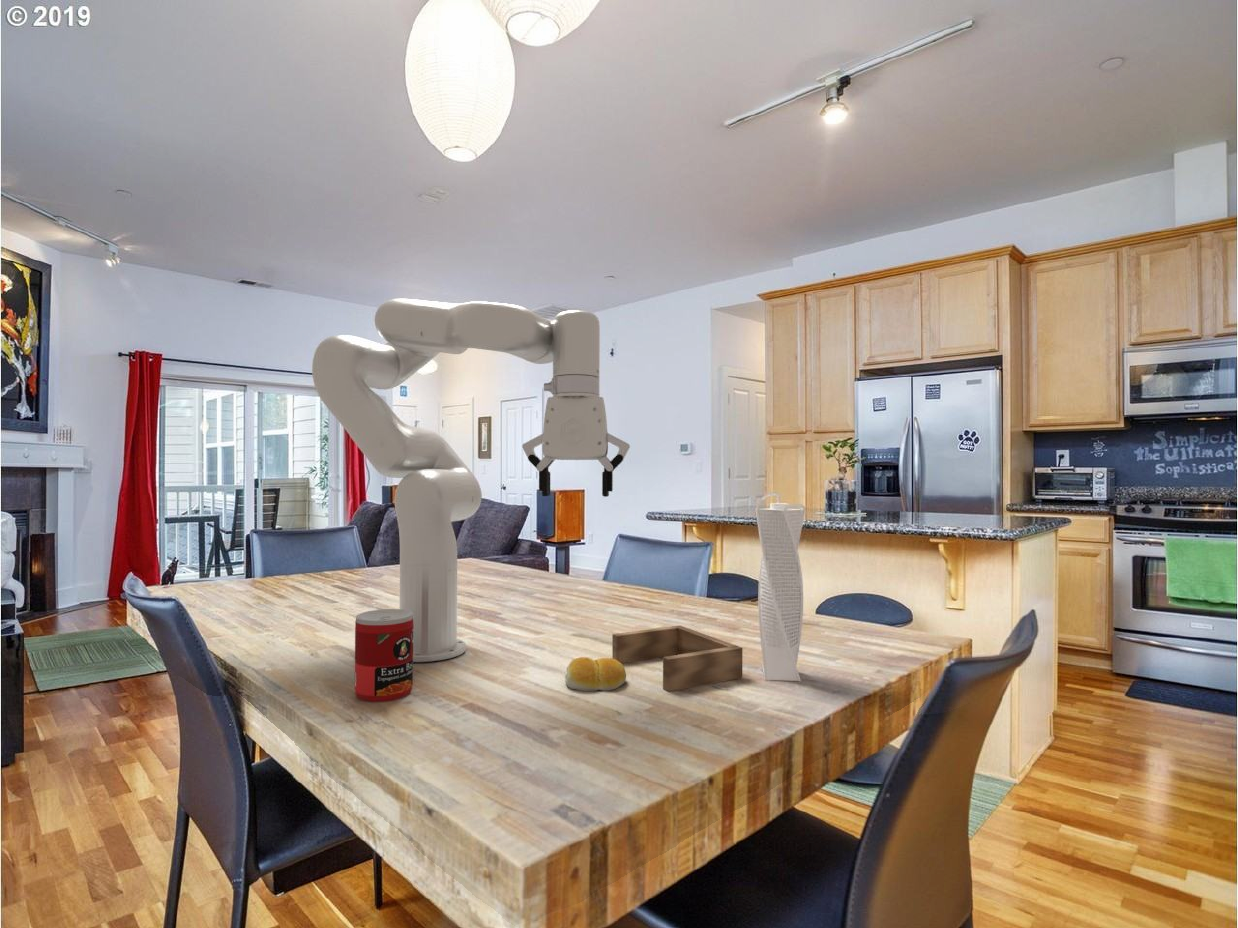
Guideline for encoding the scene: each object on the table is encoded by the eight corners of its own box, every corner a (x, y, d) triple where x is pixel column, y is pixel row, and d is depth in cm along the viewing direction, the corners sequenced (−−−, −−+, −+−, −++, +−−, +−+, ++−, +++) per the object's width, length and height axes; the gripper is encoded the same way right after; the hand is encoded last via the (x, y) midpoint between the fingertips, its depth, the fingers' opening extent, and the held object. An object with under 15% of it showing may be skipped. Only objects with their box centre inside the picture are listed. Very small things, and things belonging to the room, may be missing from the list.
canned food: (379, 706, 85) (380, 622, 86) (342, 695, 90) (342, 615, 90) (425, 690, 92) (425, 612, 92) (388, 680, 96) (388, 606, 96)
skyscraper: (753, 666, 104) (752, 492, 105) (800, 667, 103) (799, 492, 104) (758, 681, 96) (758, 493, 97) (810, 683, 95) (809, 493, 96)
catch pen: (668, 691, 92) (668, 659, 92) (612, 661, 106) (612, 634, 107) (742, 677, 98) (742, 647, 98) (680, 651, 113) (680, 625, 113)
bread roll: (630, 691, 92) (630, 663, 92) (567, 694, 91) (567, 666, 91) (621, 674, 101) (621, 648, 101) (563, 676, 99) (563, 650, 99)
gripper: (517, 387, 101) (517, 496, 101) (627, 386, 100) (627, 497, 99) (528, 393, 109) (528, 495, 108) (631, 392, 107) (631, 495, 107)
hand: (575, 496), depth 104 cm, fingers open, 9 cm apart
